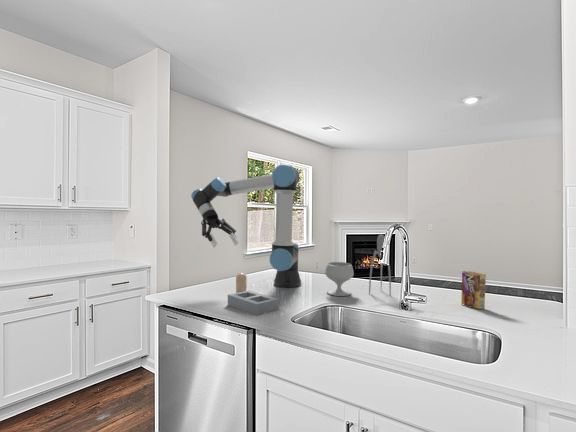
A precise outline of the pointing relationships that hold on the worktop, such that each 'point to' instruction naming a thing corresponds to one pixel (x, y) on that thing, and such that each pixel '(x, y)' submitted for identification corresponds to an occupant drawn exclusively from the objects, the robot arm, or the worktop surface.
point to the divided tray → (253, 302)
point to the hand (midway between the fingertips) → (226, 244)
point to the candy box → (473, 289)
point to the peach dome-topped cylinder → (241, 283)
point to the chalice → (339, 276)
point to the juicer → (379, 246)
